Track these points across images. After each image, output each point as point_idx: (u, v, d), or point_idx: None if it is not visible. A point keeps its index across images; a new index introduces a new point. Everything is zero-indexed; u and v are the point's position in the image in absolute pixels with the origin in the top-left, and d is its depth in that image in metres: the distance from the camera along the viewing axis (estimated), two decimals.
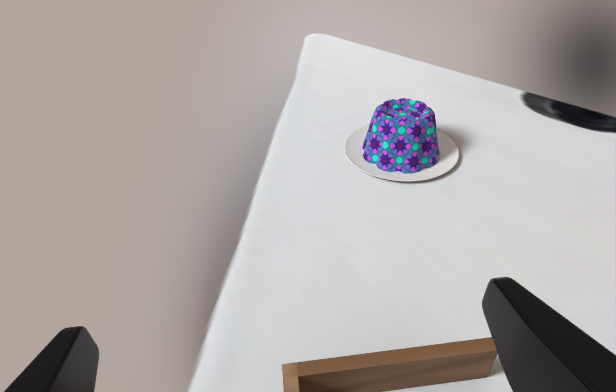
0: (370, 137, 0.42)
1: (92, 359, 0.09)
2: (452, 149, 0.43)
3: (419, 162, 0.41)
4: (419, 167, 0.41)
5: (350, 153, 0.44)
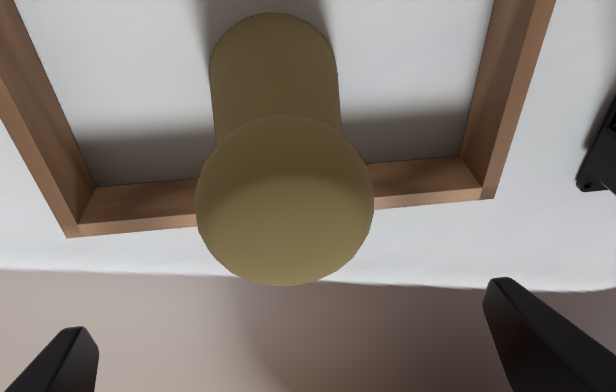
0: None
1: (92, 359, 0.09)
2: None
3: None
4: None
5: None
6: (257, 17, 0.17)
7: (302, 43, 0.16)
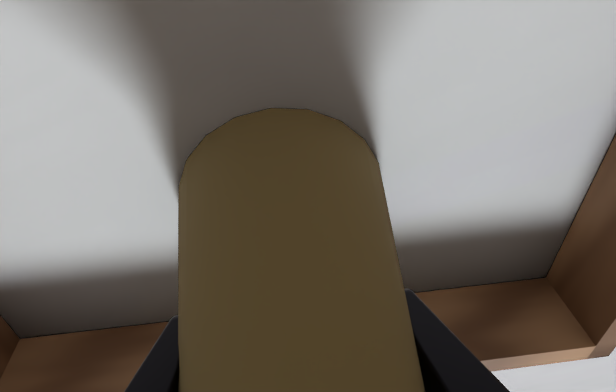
0: None
1: None
2: None
3: None
4: None
5: None
6: (256, 117, 0.10)
7: (336, 175, 0.09)
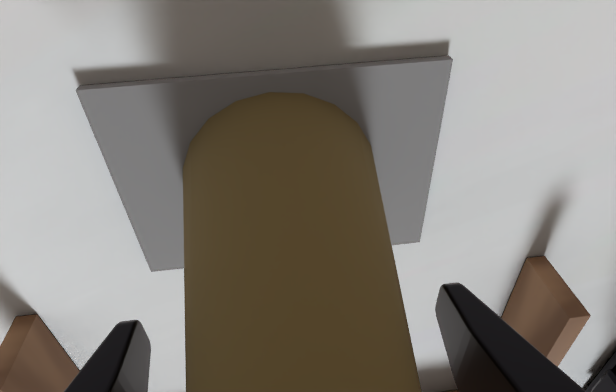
0: None
1: (146, 353, 0.09)
2: None
3: None
4: None
5: None
6: (255, 100, 0.11)
7: (330, 150, 0.10)
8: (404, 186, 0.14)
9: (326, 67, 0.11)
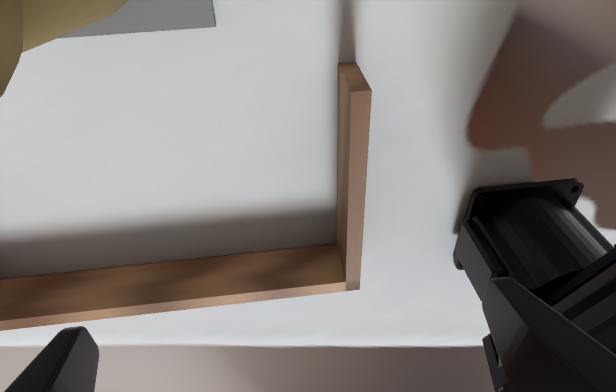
0: None
1: (92, 359, 0.09)
2: None
3: None
4: None
5: None
6: None
7: None
8: None
9: None
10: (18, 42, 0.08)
